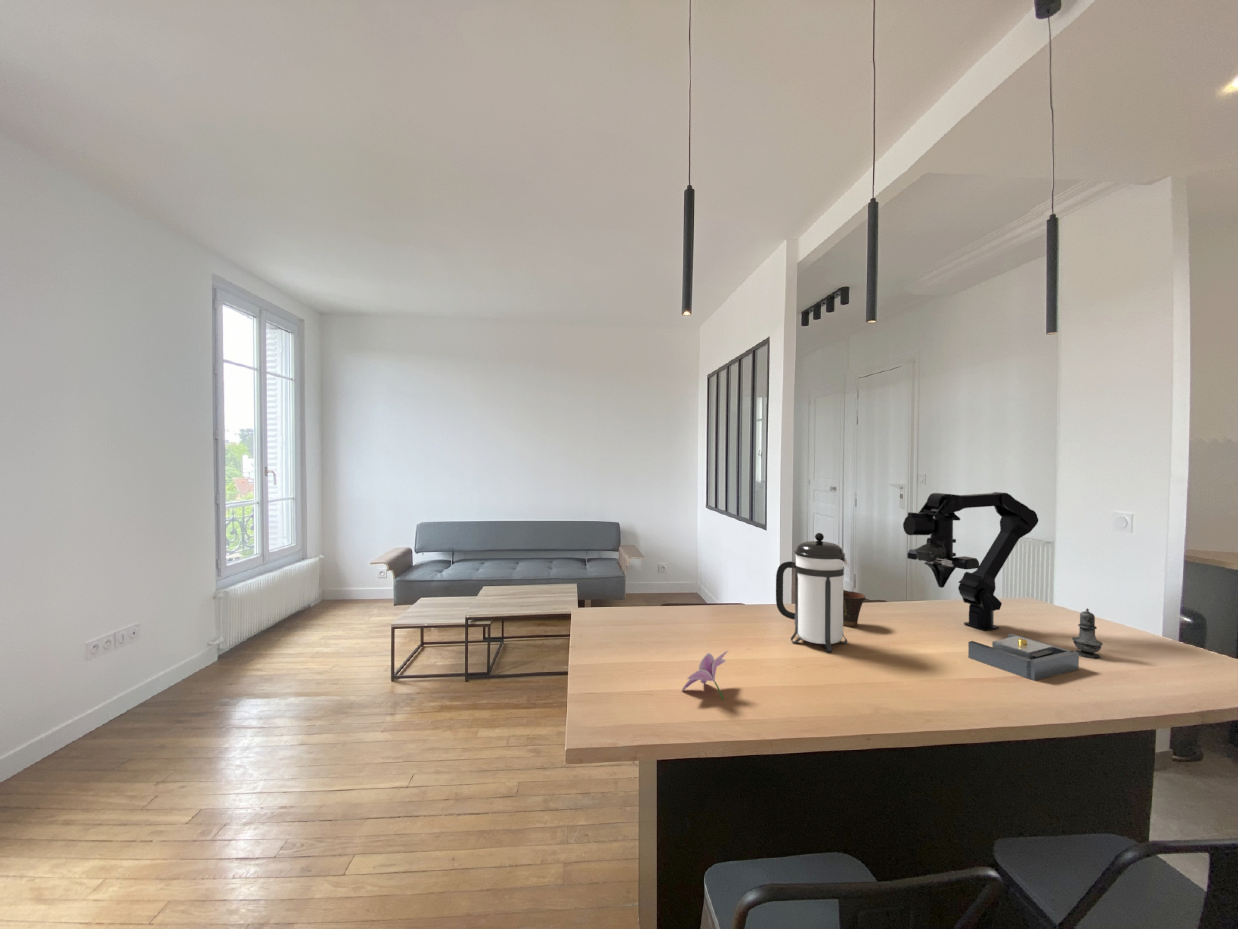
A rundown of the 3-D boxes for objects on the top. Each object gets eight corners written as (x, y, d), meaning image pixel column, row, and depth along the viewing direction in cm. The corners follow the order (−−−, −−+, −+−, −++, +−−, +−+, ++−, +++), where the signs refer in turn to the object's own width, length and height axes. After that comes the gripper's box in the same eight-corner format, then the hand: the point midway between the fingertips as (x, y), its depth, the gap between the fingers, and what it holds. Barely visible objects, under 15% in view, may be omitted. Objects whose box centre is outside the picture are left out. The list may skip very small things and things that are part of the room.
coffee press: (836, 633, 146) (837, 529, 146) (857, 654, 130) (858, 537, 130) (775, 631, 148) (775, 528, 148) (787, 651, 132) (788, 536, 132)
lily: (734, 687, 113) (715, 645, 116) (754, 688, 102) (732, 641, 105) (687, 711, 110) (668, 667, 113) (702, 714, 99) (681, 665, 102)
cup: (875, 627, 150) (870, 593, 150) (844, 631, 150) (839, 597, 150) (861, 619, 158) (856, 587, 159) (832, 623, 159) (828, 591, 159)
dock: (1011, 648, 135) (1011, 633, 135) (1078, 669, 121) (1078, 652, 121) (968, 657, 129) (968, 641, 129) (1034, 680, 115) (1034, 663, 115)
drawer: (1015, 655, 131) (1016, 632, 131) (1056, 668, 123) (1056, 643, 123) (992, 661, 127) (992, 637, 127) (1032, 675, 119) (1032, 649, 119)
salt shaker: (1075, 656, 130) (1076, 609, 130) (1068, 649, 135) (1068, 604, 135) (1106, 661, 127) (1106, 612, 127) (1098, 653, 132) (1098, 607, 132)
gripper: (894, 532, 158) (894, 582, 158) (954, 541, 141) (953, 597, 141) (920, 530, 162) (919, 579, 162) (980, 539, 145) (980, 593, 145)
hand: (941, 587), depth 152 cm, fingers closed
